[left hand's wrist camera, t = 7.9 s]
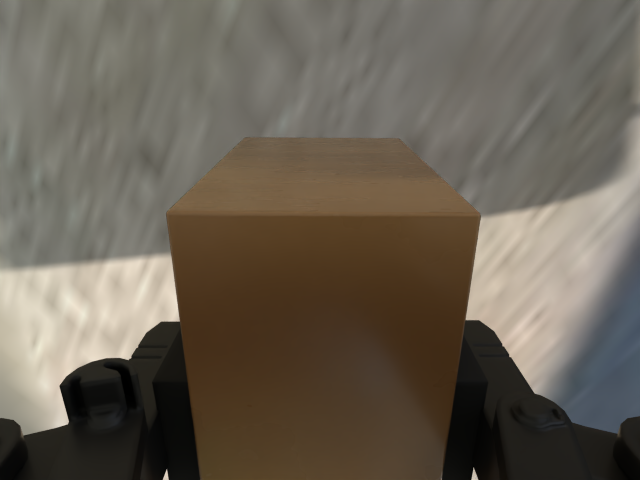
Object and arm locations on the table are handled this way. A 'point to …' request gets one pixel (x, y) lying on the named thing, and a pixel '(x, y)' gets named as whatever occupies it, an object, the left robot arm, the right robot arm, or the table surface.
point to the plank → (322, 309)
